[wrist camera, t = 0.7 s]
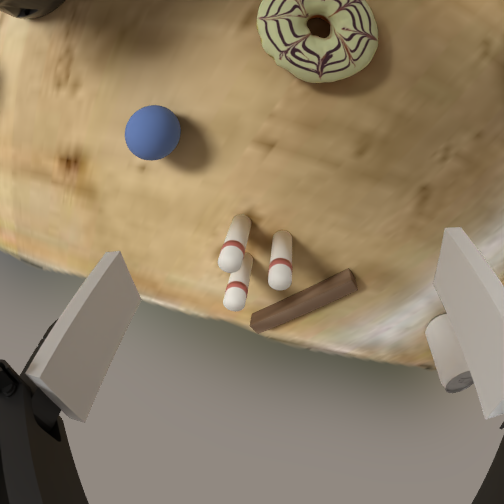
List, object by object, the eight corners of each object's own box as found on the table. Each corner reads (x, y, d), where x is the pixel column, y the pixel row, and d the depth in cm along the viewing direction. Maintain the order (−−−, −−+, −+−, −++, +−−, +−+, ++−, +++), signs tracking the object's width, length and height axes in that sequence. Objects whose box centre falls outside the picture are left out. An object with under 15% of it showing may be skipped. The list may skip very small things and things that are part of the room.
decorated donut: (310, 101, 30) (313, 105, 26) (237, 22, 26) (229, 17, 22) (391, 46, 25) (404, 44, 21) (319, -35, 21) (323, -47, 17)
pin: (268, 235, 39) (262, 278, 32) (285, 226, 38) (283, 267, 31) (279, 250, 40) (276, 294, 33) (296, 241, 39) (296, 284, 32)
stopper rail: (251, 313, 47) (249, 325, 45) (348, 268, 40) (351, 279, 38) (259, 321, 47) (257, 333, 45) (354, 278, 41) (357, 290, 39)
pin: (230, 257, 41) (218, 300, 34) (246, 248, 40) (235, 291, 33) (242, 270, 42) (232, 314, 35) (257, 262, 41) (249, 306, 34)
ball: (130, 124, 33) (104, 136, 28) (165, 91, 30) (142, 97, 25) (161, 161, 35) (140, 179, 30) (198, 130, 33) (181, 143, 28)
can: (436, 309, 43) (459, 369, 33) (464, 313, 43) (488, 369, 33) (418, 336, 46) (434, 395, 36) (445, 339, 46) (464, 394, 36)
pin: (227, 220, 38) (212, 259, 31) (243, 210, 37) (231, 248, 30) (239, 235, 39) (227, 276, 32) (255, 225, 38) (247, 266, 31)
